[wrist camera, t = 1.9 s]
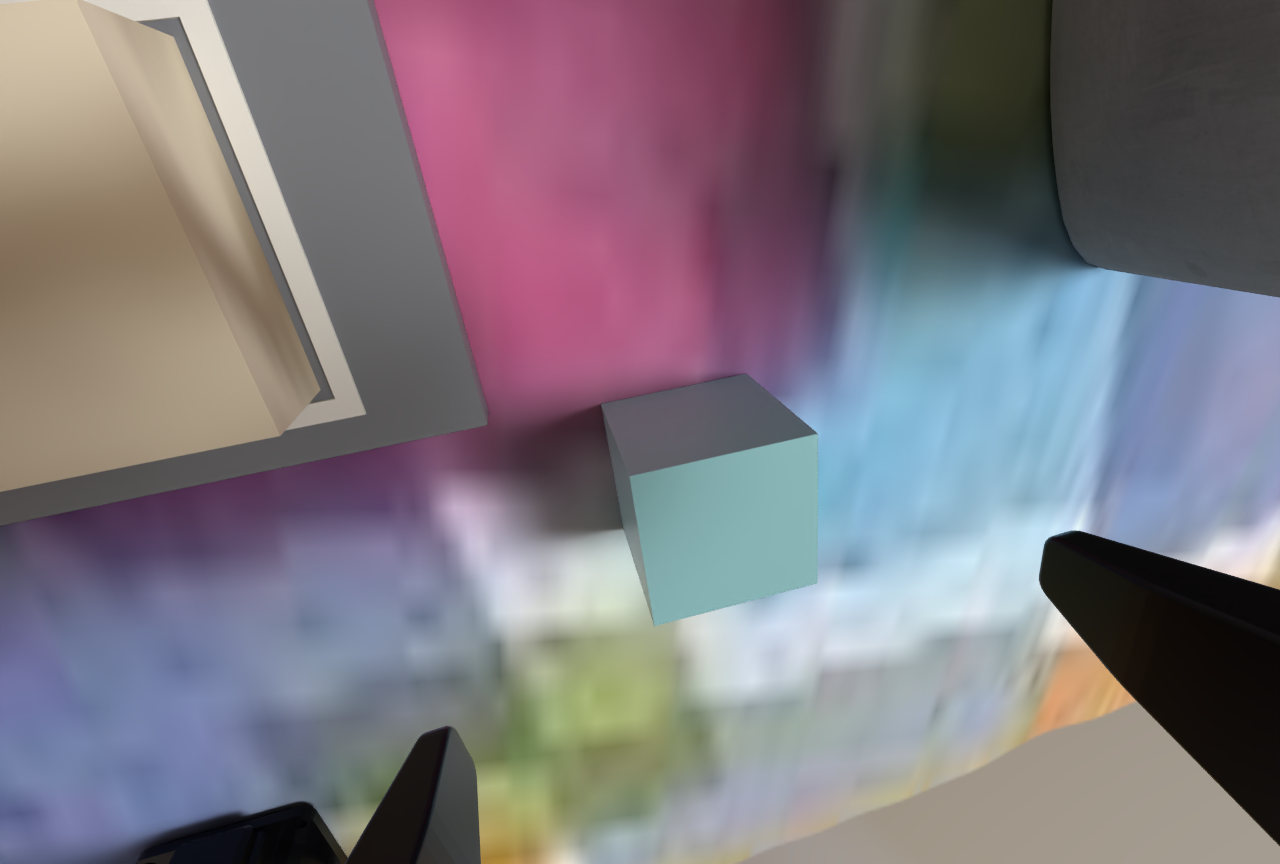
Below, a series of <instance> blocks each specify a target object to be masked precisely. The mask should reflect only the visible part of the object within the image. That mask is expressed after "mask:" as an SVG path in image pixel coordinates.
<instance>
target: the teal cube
mask: <svg viewBox="0 0 1280 864" xmlns="http://www.w3.org/2000/svg"><path fill="white" fill-rule="evenodd" d="M601 407H602V413H603V418H604V424H605V429H606V435H607V440H608V446H609V451H610V457H611V462H612V468H613V474H614V479H615V485H616V490H617V496H618V501H619V507H620V512H621V518H622V523H623V529H624V532H625V535H626V538H627V541H628V545H629V548H630V551H631V554H632V557H633V560H634V563H635V567H636V570H637V573H638V576H639V579H640V582H641V585H642V588H643V592H644V595H645V598H646V601H647V604H648V607H649V610H650V614H651V617H652V620H653V623H654V626H656V625H660V624H664V623H668V622H672V621H675V620H679V619H683V618H687V617H691V616H694V615H698V614H702V613H706V612H710V611H713V610H717V609H721V608H725V607H729V606H733V605H736V604H740V603H744V602H748V601H752V600H755V599H759V598H763V597H767V596H771V595H774V594H778V593H782V592H786V591H790V590H794V589H797V588H801V587H805V586H809V585H813V584H816V583H817V530H818V433H816V432H815V431H814V430H813V429H812V428H811V427H809V426H808V425H807V424H806V423H805V422H803V421H802V420H801V419H800V418H799V417H797V416H796V415H795V414H794V413H793V412H792V411H790V410H789V409H788V408H787V407H786V406H784V405H783V404H782V403H781V402H780V401H779V400H777V399H776V398H775V397H774V396H773V395H771V394H770V393H769V392H768V391H767V390H766V389H764V388H763V387H762V386H761V385H760V384H758V383H757V382H756V381H755V380H754V379H753V378H751V377H750V376H749V375H748V374H742V375H737V376H733V377H728V378H723V379H718V380H713V381H709V382H704V383H699V384H694V385H689V386H684V387H680V388H675V389H670V390H665V391H660V392H656V393H651V394H646V395H641V396H636V397H631V398H627V399H622V400H617V401H612V402H607V403H603V404H601Z"/></svg>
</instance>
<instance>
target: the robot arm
mask: <svg viewBox="0 0 1280 864" xmlns="http://www.w3.org/2000/svg"><path fill="white" fill-rule="evenodd" d="M1039 582H1040V585H1041V588H1042V590H1043V591H1044V593H1045V594H1046V596H1047V597H1048V598H1049V599H1050V601H1051V602H1052V603H1053V604H1054V605H1055V607H1056V608H1057V609H1058V610H1059V611H1060V613H1061V614H1062V615H1063V616H1064V617H1065V619H1066V620H1067V621H1068V622H1069V624H1070V625H1071V626H1072V627H1073V628H1074V630H1075V631H1076V632H1077V633H1078V634H1079V636H1080V637H1081V638H1082V639H1083V640H1084V642H1085V643H1086V644H1087V645H1088V646H1089V648H1090V649H1091V650H1092V651H1093V652H1094V654H1095V655H1096V656H1097V657H1098V658H1099V660H1100V661H1101V662H1102V663H1103V664H1104V666H1105V667H1106V668H1107V669H1108V670H1109V671H1110V673H1111V674H1112V675H1113V676H1114V677H1115V678H1116V679H1117V681H1118V682H1119V683H1120V684H1121V685H1122V686H1123V687H1124V688H1125V689H1126V690H1127V691H1128V692H1129V694H1130V695H1131V696H1132V697H1133V698H1134V699H1135V700H1136V701H1137V702H1138V703H1139V704H1140V705H1141V706H1142V707H1143V708H1144V709H1145V710H1146V711H1147V712H1148V713H1149V714H1150V715H1151V716H1152V717H1153V718H1154V719H1155V720H1156V721H1157V722H1158V723H1159V724H1160V725H1161V726H1162V727H1163V728H1164V729H1165V730H1166V731H1167V732H1168V733H1169V734H1170V735H1171V736H1172V737H1173V738H1174V739H1175V740H1176V741H1177V742H1178V743H1179V744H1180V745H1181V746H1182V747H1183V748H1184V750H1185V751H1187V753H1188V754H1189V755H1191V757H1192V758H1193V759H1195V761H1196V762H1197V763H1198V764H1199V765H1200V766H1201V767H1202V768H1203V769H1204V770H1205V771H1206V772H1207V773H1208V774H1209V775H1210V776H1211V777H1212V778H1213V779H1214V780H1215V781H1216V782H1217V783H1218V784H1219V785H1220V786H1221V787H1222V788H1223V789H1224V790H1225V791H1226V792H1227V793H1228V794H1229V795H1230V796H1231V797H1232V798H1233V799H1234V800H1235V801H1236V802H1237V803H1238V804H1239V805H1240V806H1241V807H1242V808H1243V809H1244V810H1245V811H1246V812H1247V813H1248V814H1249V815H1250V816H1251V817H1252V818H1253V820H1254V821H1256V823H1257V824H1259V826H1261V828H1262V829H1263V830H1264V831H1265V832H1266V833H1267V834H1268V835H1269V836H1270V837H1271V838H1272V839H1273V840H1274V841H1275V842H1276V843H1277V844H1278V845H1279V846H1280V590H1279V589H1275V588H1272V587H1269V586H1265V585H1262V584H1258V583H1255V582H1252V581H1248V580H1245V579H1241V578H1238V577H1235V576H1231V575H1228V574H1224V573H1221V572H1218V571H1214V570H1211V569H1207V568H1204V567H1201V566H1197V565H1194V564H1190V563H1187V562H1184V561H1180V560H1177V559H1173V558H1170V557H1167V556H1163V555H1160V554H1157V553H1153V552H1150V551H1146V550H1143V549H1140V548H1136V547H1133V546H1129V545H1126V544H1123V543H1119V542H1116V541H1112V540H1109V539H1106V538H1102V537H1099V536H1095V535H1092V534H1089V533H1085V532H1081V531H1068V532H1065V533H1061V534H1058V535H1055V536H1052V537H1050V538H1048V539H1047V540H1046V542H1045V544H1044V549H1043V555H1042V561H1041V567H1040V573H1039ZM136 864H481V858H480V837H479V816H478V795H477V776H476V769H475V765H474V762H473V759H472V757H471V756H470V754H469V752H468V750H467V748H466V747H465V745H464V743H463V741H462V739H461V738H460V736H459V734H458V732H457V731H456V729H455V728H454V727H452V726H445V727H441V728H438V729H435V730H432V731H429V732H426V733H424V734H423V735H421V736H420V738H419V739H418V740H417V742H416V743H415V745H414V747H413V748H412V750H411V752H410V754H409V755H408V757H407V759H406V760H405V762H404V764H403V765H402V767H401V769H400V771H399V772H398V774H397V776H396V777H395V779H394V781H393V782H392V784H391V786H390V788H389V789H388V791H387V793H386V794H385V796H384V798H383V799H382V801H381V803H380V805H379V806H378V808H377V810H376V811H375V813H374V815H373V816H372V818H371V820H370V822H369V823H368V825H367V827H366V828H365V830H364V832H363V833H362V835H361V837H360V839H359V840H358V842H357V844H356V845H355V847H354V849H353V850H352V852H351V854H350V856H349V857H348V858H347V856H346V855H345V853H344V852H343V850H342V849H341V847H340V846H339V844H338V843H337V841H336V840H335V838H334V837H333V835H332V833H331V832H330V830H329V829H328V827H327V826H326V824H325V823H324V821H323V820H322V818H321V817H320V815H319V814H318V812H317V810H316V809H314V808H313V807H310V806H298V807H295V808H291V809H288V810H284V811H281V812H277V813H273V814H270V815H266V816H263V817H259V818H256V819H252V820H248V821H245V822H241V823H238V824H234V825H231V826H227V827H223V828H220V829H216V830H213V831H209V832H206V833H202V834H198V835H195V836H191V837H188V838H184V839H181V840H177V841H173V842H170V843H166V844H163V845H159V846H156V847H152V848H149V849H146V850H144V851H143V852H142V853H141V855H140V857H139V858H138V860H137V862H136Z"/></svg>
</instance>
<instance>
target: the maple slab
mask: <svg viewBox="0 0 1280 864" xmlns="http://www.w3.org/2000/svg"><path fill="white" fill-rule="evenodd" d="M319 391H320V387H319V385H318V382H317V380H316V378H315V375H314V373H313V370H312V368H311V366H310V363H309V361H308V358H307V356H306V354H305V351H304V349H303V346H302V344H301V342H300V339H299V337H298V334H297V332H296V330H295V327H294V325H293V322H292V320H291V318H290V315H289V313H288V310H287V308H286V306H285V303H284V301H283V298H282V296H281V294H280V291H279V289H278V286H277V284H276V282H275V279H274V277H273V274H272V272H271V270H270V267H269V265H268V262H267V260H266V258H265V255H264V253H263V250H262V248H261V246H260V243H259V241H258V238H257V236H256V234H255V231H254V229H253V226H252V224H251V222H250V219H249V217H248V214H247V212H246V209H245V207H244V205H243V202H242V200H241V197H240V195H239V193H238V190H237V188H236V185H235V183H234V181H233V178H232V176H231V173H230V171H229V169H228V166H227V164H226V161H225V159H224V157H223V154H222V152H221V149H220V147H219V145H218V142H217V140H216V137H215V135H214V133H213V130H212V128H211V125H210V123H209V121H208V118H207V116H206V113H205V111H204V109H203V106H202V104H201V101H200V99H199V97H198V94H197V92H196V89H195V87H194V85H193V82H192V80H191V77H190V75H189V73H188V70H187V68H186V65H185V63H184V61H183V58H182V56H181V53H180V51H179V49H178V46H177V44H176V41H175V39H174V37H173V36H170V35H168V34H165V33H163V32H160V31H158V30H155V29H153V28H150V27H148V26H145V25H143V24H141V23H138V22H136V21H133V20H131V19H128V18H126V17H123V16H121V15H118V14H116V13H113V12H111V11H108V10H106V9H103V8H101V7H98V6H96V5H93V4H91V3H89V2H86V1H84V0H38V1H28V2H18V3H8V4H0V492H2V491H7V490H12V489H17V488H22V487H27V486H32V485H37V484H42V483H47V482H52V481H57V480H62V479H67V478H72V477H77V476H82V475H87V474H92V473H97V472H102V471H107V470H112V469H117V468H122V467H127V466H132V465H137V464H142V463H147V462H152V461H157V460H162V459H167V458H172V457H177V456H182V455H187V454H192V453H197V452H203V451H208V450H213V449H218V448H223V447H228V446H233V445H238V444H243V443H248V442H253V441H258V440H263V439H268V438H273V437H278V436H281V435H282V434H283V432H284V431H285V430H286V429H287V428H288V427H289V426H290V424H291V423H292V422H293V421H294V420H295V419H296V418H297V416H298V415H299V414H300V413H301V412H302V411H303V410H304V408H305V407H306V406H307V405H308V404H309V403H310V402H311V400H312V399H313V398H314V397H315V396H316V395H317V394H318V392H319Z"/></svg>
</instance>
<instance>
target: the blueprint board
mask: <svg viewBox="0 0 1280 864" xmlns="http://www.w3.org/2000/svg"><path fill="white" fill-rule="evenodd" d="M28 1H38V0H0V4H8V3H18V2H28ZM84 1H86V2H89V3H91V4H93V5H96V6H98V7H101V8H103V9H106V10H108V11H111V12H113V13H116V14H118V15H121V16H123V17H126V18H128V19H131V20H133V21H136V22H138V23H141V24H143V25H145V26H148V27H150V28H153V29H155V30H158V31H160V32H163V33H165V34H168V35H170V36H173V37H174V39H175V41H176V44H177V46H178V49H179V51H180V53H181V56H182V58H183V61H184V63H185V65H186V68H187V70H188V73H189V75H190V77H191V80H192V82H193V85H194V87H195V89H196V92H197V94H198V97H199V99H200V101H201V104H202V106H203V109H204V111H205V113H206V116H207V118H208V121H209V123H210V125H211V128H212V130H213V133H214V135H215V137H216V140H217V142H218V145H219V147H220V149H221V152H222V154H223V157H224V159H225V161H226V164H227V166H228V169H229V171H230V173H231V176H232V178H233V181H234V183H235V185H236V188H237V190H238V193H239V195H240V197H241V200H242V202H243V205H244V207H245V209H246V212H247V214H248V217H249V219H250V222H251V224H252V226H253V229H254V231H255V234H256V236H257V238H258V241H259V243H260V246H261V248H262V250H263V253H264V255H265V258H266V260H267V262H268V265H269V267H270V270H271V272H272V274H273V277H274V279H275V282H276V284H277V286H278V289H279V291H280V294H281V296H282V298H283V301H284V303H285V306H286V308H287V310H288V313H289V315H290V318H291V320H292V322H293V325H294V327H295V330H296V332H297V334H298V337H299V339H300V342H301V344H302V346H303V349H304V351H305V354H306V356H307V358H308V361H309V363H310V366H311V368H312V370H313V373H314V375H315V378H316V380H317V382H318V385H319V387H320V391H319V392H318V394H317V395H316V396H315V397H314V398H313V399H312V400H311V402H310V403H309V404H308V405H307V406H306V407H305V408H304V410H303V411H302V412H301V413H300V414H299V415H298V416H297V418H296V419H295V420H294V421H293V422H292V423H291V424H290V426H289V427H288V428H287V429H286V430H285V431H284V432H283V434H282V435H281V436H278V437H273V438H268V439H263V440H258V441H253V442H248V443H243V444H238V445H233V446H228V447H223V448H218V449H213V450H208V451H203V452H197V453H192V454H187V455H182V456H177V457H172V458H167V459H162V460H157V461H152V462H147V463H142V464H137V465H132V466H127V467H122V468H117V469H112V470H107V471H102V472H97V473H92V474H87V475H82V476H77V477H72V478H67V479H62V480H57V481H52V482H47V483H42V484H37V485H32V486H27V487H22V488H17V489H12V490H7V491H2V492H0V526H2V525H7V524H12V523H17V522H21V521H26V520H31V519H36V518H41V517H46V516H51V515H55V514H60V513H65V512H70V511H75V510H80V509H84V508H89V507H94V506H99V505H104V504H109V503H113V502H118V501H123V500H128V499H133V498H138V497H143V496H147V495H152V494H157V493H162V492H167V491H172V490H176V489H181V488H186V487H191V486H196V485H201V484H206V483H210V482H215V481H220V480H225V479H230V478H235V477H239V476H244V475H249V474H254V473H259V472H264V471H268V470H273V469H278V468H283V467H288V466H293V465H298V464H302V463H307V462H312V461H317V460H322V459H327V458H331V457H336V456H341V455H346V454H351V453H356V452H361V451H365V450H370V449H375V448H380V447H385V446H390V445H394V444H399V443H404V442H409V441H414V440H419V439H423V438H428V437H433V436H438V435H443V434H448V433H453V432H457V431H462V430H467V429H472V428H477V427H482V426H486V425H487V424H488V414H489V412H488V409H487V405H486V401H485V398H484V394H483V391H482V387H481V383H480V380H479V376H478V373H477V369H476V366H475V362H474V358H473V355H472V351H471V348H470V344H469V340H468V337H467V333H466V330H465V326H464V323H463V319H462V315H461V312H460V308H459V305H458V301H457V297H456V294H455V290H454V287H453V283H452V280H451V276H450V272H449V269H448V265H447V262H446V258H445V255H444V251H443V247H442V244H441V240H440V237H439V233H438V229H437V226H436V222H435V219H434V215H433V212H432V208H431V204H430V201H429V197H428V194H427V190H426V186H425V183H424V179H423V176H422V172H421V169H420V165H419V161H418V158H417V154H416V151H415V147H414V143H413V140H412V136H411V133H410V129H409V126H408V122H407V118H406V115H405V111H404V108H403V104H402V100H401V97H400V93H399V90H398V86H397V83H396V79H395V75H394V72H393V68H392V65H391V61H390V58H389V54H388V50H387V47H386V43H385V40H384V36H383V32H382V29H381V25H380V22H379V18H378V15H377V11H376V7H375V4H374V0H84Z"/></svg>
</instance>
